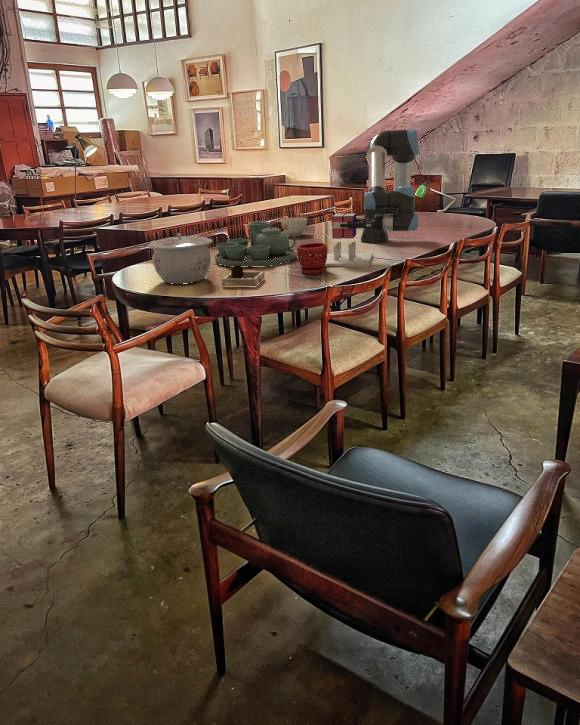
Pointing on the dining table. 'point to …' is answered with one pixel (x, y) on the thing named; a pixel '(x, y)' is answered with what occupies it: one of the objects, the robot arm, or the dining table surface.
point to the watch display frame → (255, 276)
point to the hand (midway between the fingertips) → (335, 223)
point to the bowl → (294, 225)
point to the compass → (237, 272)
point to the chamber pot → (181, 258)
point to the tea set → (257, 247)
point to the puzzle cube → (343, 232)
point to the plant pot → (312, 257)
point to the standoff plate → (348, 257)
